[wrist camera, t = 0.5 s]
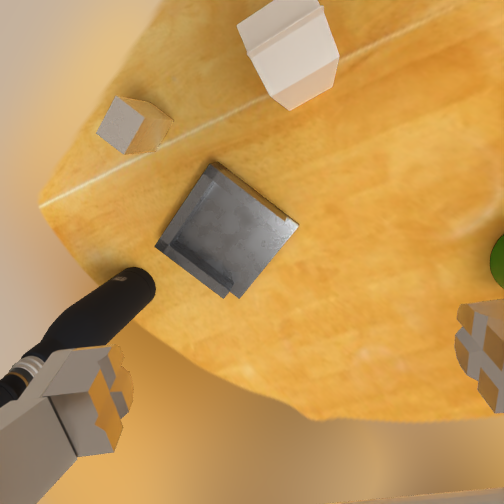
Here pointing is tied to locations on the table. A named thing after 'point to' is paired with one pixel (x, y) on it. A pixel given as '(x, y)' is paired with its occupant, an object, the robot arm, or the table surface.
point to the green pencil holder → (498, 262)
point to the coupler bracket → (225, 232)
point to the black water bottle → (84, 326)
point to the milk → (291, 50)
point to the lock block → (134, 126)
